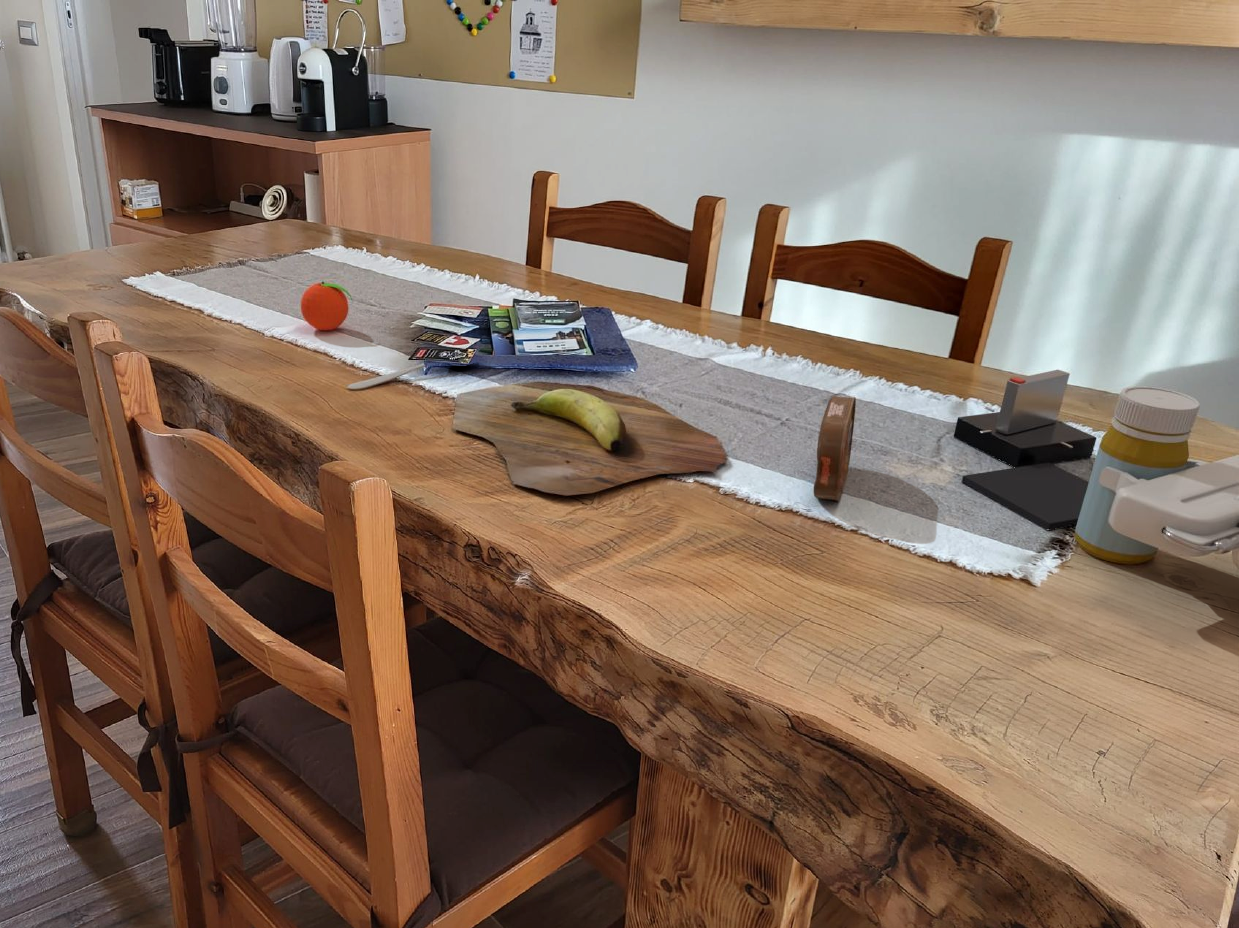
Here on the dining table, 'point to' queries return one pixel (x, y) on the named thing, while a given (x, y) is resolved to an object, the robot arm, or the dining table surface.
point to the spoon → (382, 378)
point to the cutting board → (582, 436)
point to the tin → (834, 448)
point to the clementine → (325, 306)
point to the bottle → (1135, 464)
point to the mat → (1035, 492)
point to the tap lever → (1032, 401)
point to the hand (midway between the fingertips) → (1129, 467)
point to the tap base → (1025, 441)
